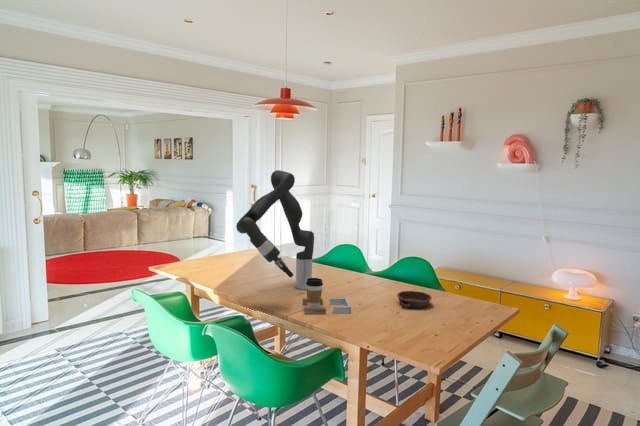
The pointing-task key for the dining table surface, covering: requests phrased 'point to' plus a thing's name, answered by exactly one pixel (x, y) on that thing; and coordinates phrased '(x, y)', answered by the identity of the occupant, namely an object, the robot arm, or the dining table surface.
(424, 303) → the dish
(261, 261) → the dining table surface
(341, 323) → the dining table surface
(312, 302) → the coffee cup
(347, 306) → the corral
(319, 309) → the clamp blocks
